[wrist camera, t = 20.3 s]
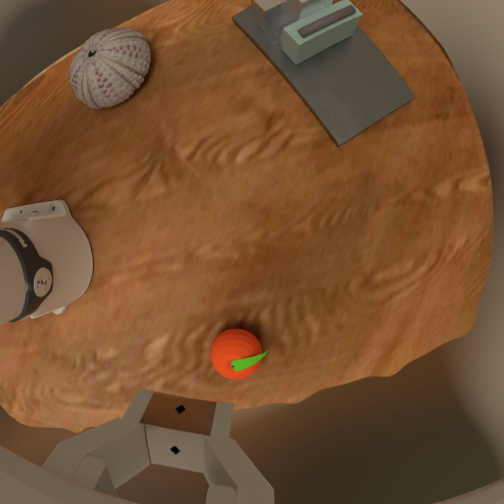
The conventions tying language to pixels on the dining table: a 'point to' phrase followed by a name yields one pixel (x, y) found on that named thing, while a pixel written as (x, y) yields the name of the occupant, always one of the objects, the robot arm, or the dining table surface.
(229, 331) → the clementine
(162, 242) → the dining table surface
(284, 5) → the block
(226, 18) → the dining table surface
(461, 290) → the dining table surface
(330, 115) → the vise
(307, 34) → the sliding jaw
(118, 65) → the sea urchin shell
